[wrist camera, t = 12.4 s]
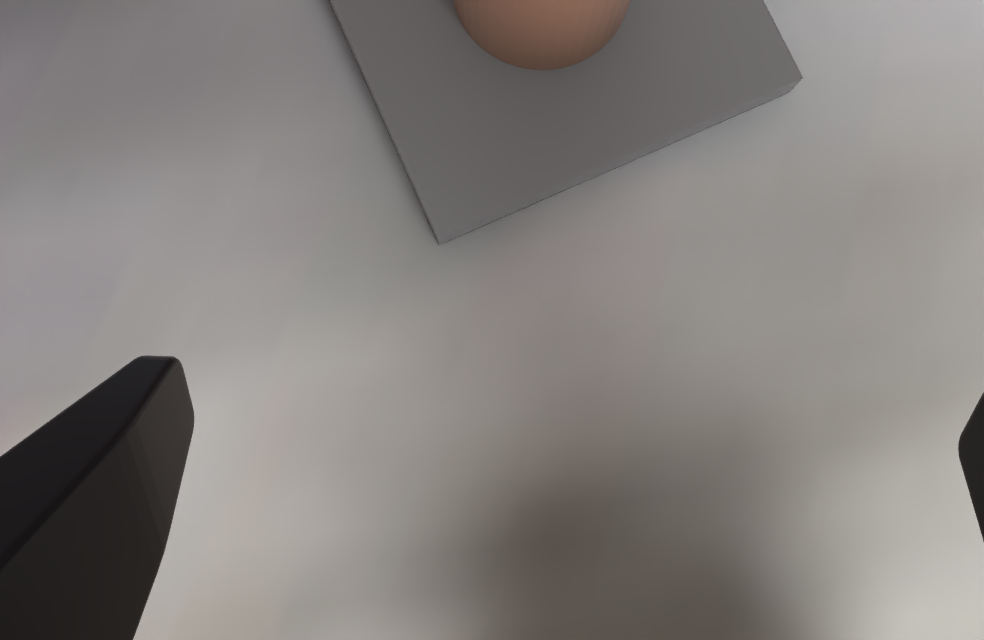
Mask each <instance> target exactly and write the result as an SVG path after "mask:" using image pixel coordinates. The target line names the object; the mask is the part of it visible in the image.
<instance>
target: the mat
mask: <svg viewBox="0 0 984 640" xmlns="http://www.w3.org/2000/svg"><path fill="white" fill-rule="evenodd" d="M329 1H330V4H331V6H332V8H333V10H334V12H335V15H336V17H337V19H338V21H339V24H340V26H341V28H342V30H343V32H344V35H345V37H346V39H347V41H348V44H349V46H350V48H351V50H352V52H353V55H354V57H355V59H356V61H357V64H358V66H359V68H360V70H361V72H362V75H363V77H364V79H365V81H366V84H367V86H368V88H369V90H370V92H371V95H372V97H373V99H374V101H375V104H376V106H377V108H378V110H379V112H380V115H381V117H382V119H383V121H384V124H385V126H386V128H387V130H388V132H389V135H390V137H391V139H392V141H393V144H394V146H395V148H396V150H397V152H398V155H399V157H400V159H401V161H402V164H403V166H404V168H405V170H406V172H407V175H408V177H409V179H410V181H411V184H412V186H413V188H414V190H415V192H416V195H417V197H418V199H419V201H420V204H421V206H422V208H423V210H424V212H425V215H426V217H427V219H428V221H429V224H430V226H431V228H432V230H433V232H434V235H435V237H436V239H437V241H438V244H439V245H440V244H442V243H445V242H447V241H449V240H452V239H454V238H456V237H458V236H461V235H463V234H465V233H468V232H470V231H472V230H474V229H477V228H479V227H481V226H484V225H486V224H488V223H491V222H493V221H495V220H497V219H500V218H502V217H504V216H507V215H509V214H511V213H513V212H516V211H518V210H520V209H523V208H525V207H527V206H530V205H532V204H534V203H536V202H539V201H541V200H543V199H546V198H548V197H550V196H552V195H555V194H557V193H559V192H562V191H564V190H566V189H568V188H571V187H573V186H575V185H578V184H580V183H582V182H585V181H587V180H589V179H591V178H594V177H596V176H598V175H601V174H603V173H605V172H607V171H610V170H612V169H614V168H617V167H619V166H621V165H624V164H626V163H628V162H630V161H633V160H635V159H637V158H640V157H642V156H644V155H646V154H649V153H651V152H653V151H656V150H658V149H660V148H663V147H665V146H667V145H669V144H672V143H674V142H676V141H679V140H681V139H683V138H685V137H688V136H690V135H692V134H695V133H697V132H699V131H702V130H704V129H706V128H708V127H711V126H713V125H715V124H718V123H720V122H722V121H724V120H727V119H729V118H731V117H734V116H736V115H738V114H741V113H743V112H745V111H747V110H750V109H752V108H754V107H757V106H759V105H761V104H763V103H766V102H768V101H770V100H773V99H775V98H777V97H779V96H782V95H784V94H786V93H789V92H790V91H791V90H792V89H793V88H794V87H795V86H796V85H797V84H798V83H799V81H800V80H801V79H802V78H803V77H802V75H801V73H800V71H799V69H798V67H797V65H796V63H795V62H794V60H793V58H792V56H791V54H790V52H789V50H788V48H787V46H786V44H785V42H784V40H783V38H782V36H781V34H780V32H779V30H778V28H777V26H776V25H775V23H774V21H773V19H772V17H771V15H770V13H769V11H768V9H767V7H766V5H765V3H764V1H763V0H631V1H630V4H629V7H628V10H627V12H626V15H625V17H624V19H623V22H622V24H621V26H620V27H619V29H618V30H617V32H616V33H615V35H614V36H613V37H612V38H611V40H610V41H609V42H608V43H607V44H606V45H605V46H604V47H603V48H602V49H600V50H599V51H598V52H597V53H595V54H594V55H592V56H591V57H589V58H587V59H585V60H583V61H581V62H579V63H577V64H574V65H571V66H568V67H564V68H560V69H553V70H531V69H525V68H520V67H516V66H513V65H510V64H507V63H505V62H503V61H501V60H498V59H497V58H495V57H493V56H492V55H490V54H489V53H487V52H486V51H485V50H483V49H482V48H481V47H480V46H479V45H478V44H477V43H476V42H475V41H474V40H473V39H472V38H471V37H470V36H469V34H468V33H467V31H466V30H465V29H464V27H463V25H462V23H461V21H460V20H459V18H458V15H457V12H456V10H455V7H454V2H453V0H329Z"/></svg>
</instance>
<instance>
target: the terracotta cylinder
mask: <svg viewBox="0 0 984 640" xmlns="http://www.w3.org/2000/svg"><path fill="white" fill-rule="evenodd" d="M630 1H631V0H453V2H454V7H455V10H456V12H457V15H458V18H459V20H460V21H461V23H462V25H463V27H464V29H465V30H466V31H467V33H468V34H469V36H470V37H471V38H472V39H473V40H474V41H475V42H476V43H477V44H478V45H479V46H480V47H481V48H482V49H483V50H485V51H486V52H487V53H489V54H490V55H492V56H493V57H495V58H497V59H498V60H501V61H503V62H505V63H507V64H510V65H513V66H516V67H520V68H525V69H531V70H553V69H560V68H564V67H568V66H571V65H574V64H577V63H579V62H581V61H583V60H585V59H587V58H589V57H591V56H592V55H594V54H595V53H597V52H598V51H599V50H600V49H602V48H603V47H604V46H605V45H606V44H607V43H608V42H609V41H610V40H611V38H612V37H613V36H614V35H615V33H616V32H617V30H618V29H619V27H620V26H621V24H622V22H623V19H624V17H625V15H626V12H627V10H628V7H629V4H630Z"/></svg>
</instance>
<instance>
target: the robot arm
mask: <svg viewBox="0 0 984 640" xmlns="http://www.w3.org/2000/svg"><path fill="white" fill-rule="evenodd" d="M193 428H194V410H193V406H192V402H191V398H190V394H189V390H188V386H187V382H186V378H185V374H184V370H183V367H182V364H181V363H180V361H179V360H178V359H177V358H175V357H172V356H140V357H138V358H136V359H134V360H133V361H131V362H130V363H129V364H127V365H126V366H124V367H123V368H122V369H120V370H119V371H118V372H116V373H115V374H113V375H112V376H111V377H109V378H108V379H107V380H105V381H104V382H102V383H101V384H100V385H98V386H97V387H95V388H94V389H93V390H91V391H90V392H89V393H87V394H86V395H84V396H83V397H82V398H80V399H79V400H78V401H76V402H75V403H73V404H72V405H71V406H69V407H68V408H67V409H65V410H64V411H62V412H61V413H60V414H58V415H57V416H56V417H54V418H53V419H51V420H50V421H49V422H47V423H46V424H45V425H43V426H42V427H40V428H39V429H38V430H36V431H35V432H33V433H32V434H31V435H29V436H28V437H27V438H25V439H24V440H22V441H21V442H20V443H18V444H17V445H16V446H14V447H13V448H11V449H10V450H9V451H7V452H6V453H5V454H3V455H2V456H0V640H133V638H134V636H135V633H136V630H137V627H138V625H139V622H140V619H141V616H142V614H143V611H144V608H145V605H146V603H147V600H148V597H149V594H150V592H151V589H152V586H153V583H154V581H155V578H156V575H157V572H158V569H159V566H160V563H161V560H162V557H163V554H164V551H165V548H166V544H167V540H168V536H169V532H170V528H171V524H172V519H173V515H174V511H175V507H176V502H177V498H178V494H179V489H180V485H181V481H182V477H183V472H184V468H185V464H186V459H187V455H188V451H189V447H190V442H191V438H192V434H193ZM958 450H959V458H960V462H961V465H962V469H963V472H964V476H965V479H966V482H967V486H968V489H969V493H970V496H971V499H972V503H973V506H974V510H975V513H976V517H977V520H978V523H979V527H980V530H981V534H982V537H983V541H984V393H983V394H982V396H981V398H980V400H979V402H978V404H977V405H976V407H975V409H974V411H973V413H972V415H971V417H970V419H969V420H968V422H967V424H966V426H965V428H964V430H963V432H962V434H961V436H960V440H959V447H958Z"/></svg>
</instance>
